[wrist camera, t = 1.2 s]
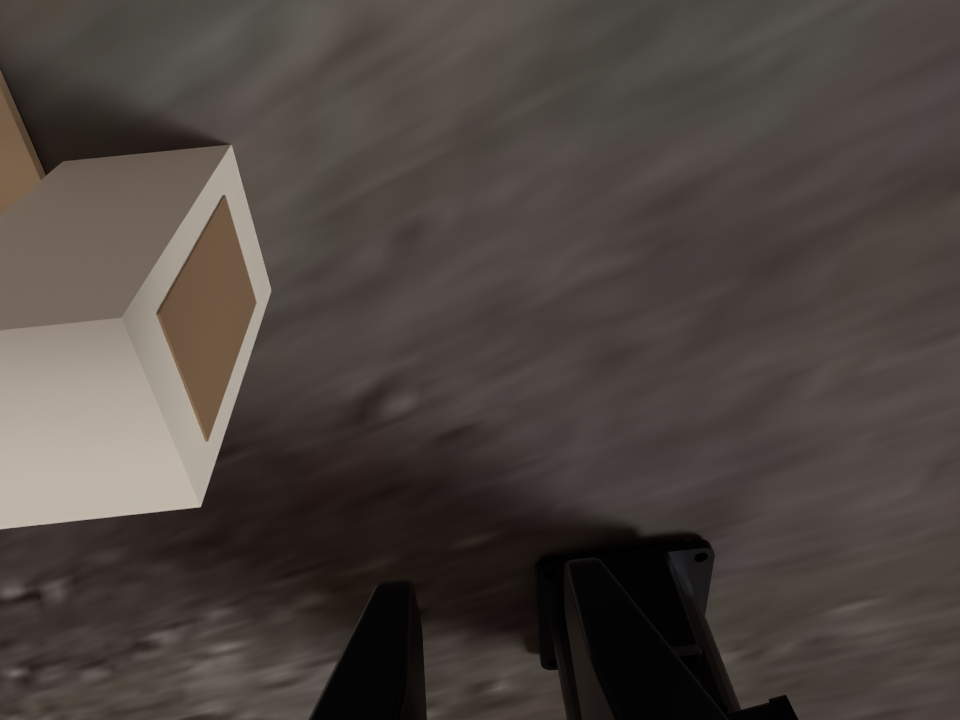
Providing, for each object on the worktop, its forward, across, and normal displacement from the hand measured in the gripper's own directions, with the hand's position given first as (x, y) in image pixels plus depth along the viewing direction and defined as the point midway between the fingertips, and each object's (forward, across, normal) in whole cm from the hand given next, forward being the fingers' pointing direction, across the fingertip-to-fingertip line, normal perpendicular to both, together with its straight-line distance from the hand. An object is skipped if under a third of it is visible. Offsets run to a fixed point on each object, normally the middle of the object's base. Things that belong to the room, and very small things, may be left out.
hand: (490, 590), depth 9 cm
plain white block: (+12, +7, 0) cm, 14 cm away
